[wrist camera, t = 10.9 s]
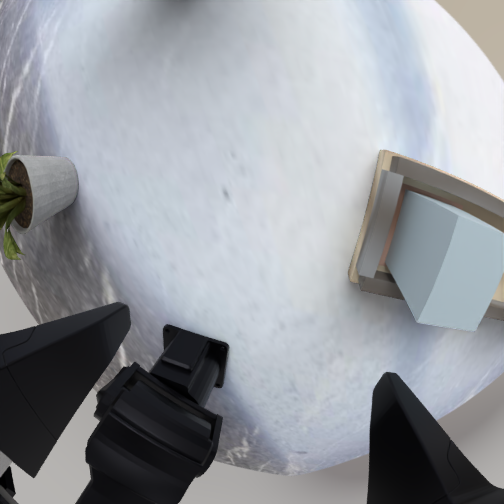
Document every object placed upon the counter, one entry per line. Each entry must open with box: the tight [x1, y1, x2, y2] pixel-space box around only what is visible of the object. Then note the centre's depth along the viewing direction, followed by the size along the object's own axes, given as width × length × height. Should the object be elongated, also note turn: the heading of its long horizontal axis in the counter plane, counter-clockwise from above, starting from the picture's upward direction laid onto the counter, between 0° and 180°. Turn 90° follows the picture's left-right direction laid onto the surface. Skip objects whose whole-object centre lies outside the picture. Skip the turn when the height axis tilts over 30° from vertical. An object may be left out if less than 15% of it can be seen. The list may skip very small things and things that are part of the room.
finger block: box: [385, 189, 504, 332], centre depth 12 cm, size 5×4×7 cm
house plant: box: [0, 151, 78, 260], centre depth 14 cm, size 14×14×16 cm
